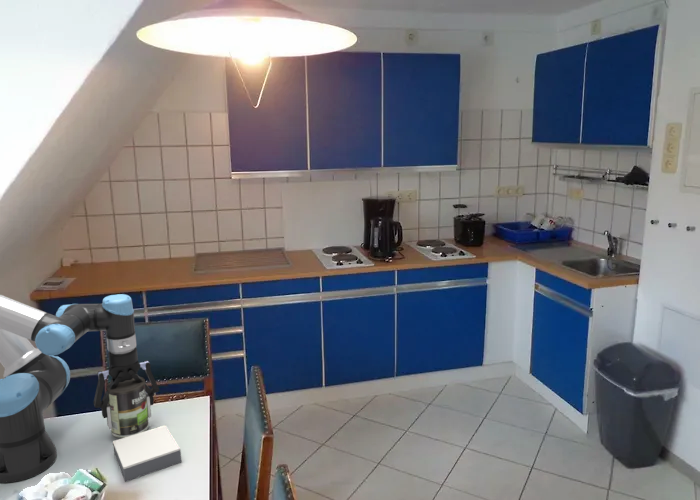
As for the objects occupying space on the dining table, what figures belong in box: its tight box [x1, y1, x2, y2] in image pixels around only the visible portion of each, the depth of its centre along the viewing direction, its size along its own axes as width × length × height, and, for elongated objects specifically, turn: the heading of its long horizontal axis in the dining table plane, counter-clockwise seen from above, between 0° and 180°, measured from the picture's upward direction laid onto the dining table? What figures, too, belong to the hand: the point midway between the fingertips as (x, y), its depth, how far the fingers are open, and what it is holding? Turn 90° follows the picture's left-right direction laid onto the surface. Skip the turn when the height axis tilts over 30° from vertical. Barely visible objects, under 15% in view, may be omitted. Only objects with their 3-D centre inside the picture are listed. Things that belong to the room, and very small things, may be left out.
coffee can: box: [105, 376, 150, 439], centre depth 151 cm, size 10×10×14 cm
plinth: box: [112, 424, 182, 482], centre depth 140 cm, size 14×14×4 cm
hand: (129, 420), depth 152 cm, fingers closed on coffee can, 10 cm apart
